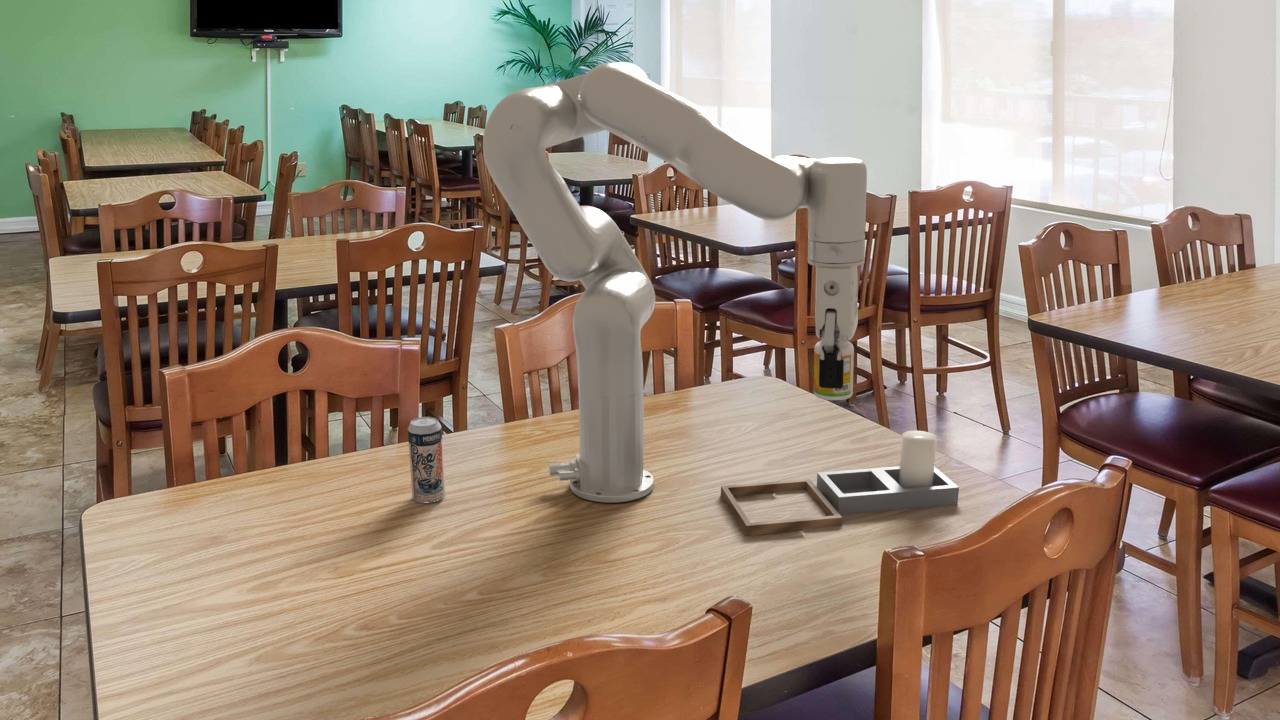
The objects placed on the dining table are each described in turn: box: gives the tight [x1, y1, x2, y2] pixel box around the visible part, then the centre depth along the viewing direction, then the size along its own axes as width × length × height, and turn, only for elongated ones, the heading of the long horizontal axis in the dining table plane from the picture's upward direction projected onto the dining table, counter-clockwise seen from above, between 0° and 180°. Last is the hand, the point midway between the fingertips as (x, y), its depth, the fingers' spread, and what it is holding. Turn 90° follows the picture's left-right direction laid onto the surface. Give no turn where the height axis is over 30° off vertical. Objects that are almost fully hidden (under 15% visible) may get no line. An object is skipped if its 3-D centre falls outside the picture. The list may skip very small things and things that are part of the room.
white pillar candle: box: [899, 430, 937, 489], centre depth 157 cm, size 5×5×9 cm
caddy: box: [816, 465, 960, 515], centre depth 158 cm, size 18×9×3 cm, turn 100°
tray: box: [720, 478, 843, 537], centre depth 154 cm, size 14×14×2 cm
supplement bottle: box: [813, 333, 855, 401], centre depth 149 cm, size 5×5×10 cm
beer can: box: [407, 416, 447, 503], centre depth 157 cm, size 5×5×12 cm
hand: (833, 379), depth 150 cm, fingers closed on supplement bottle, 5 cm apart
